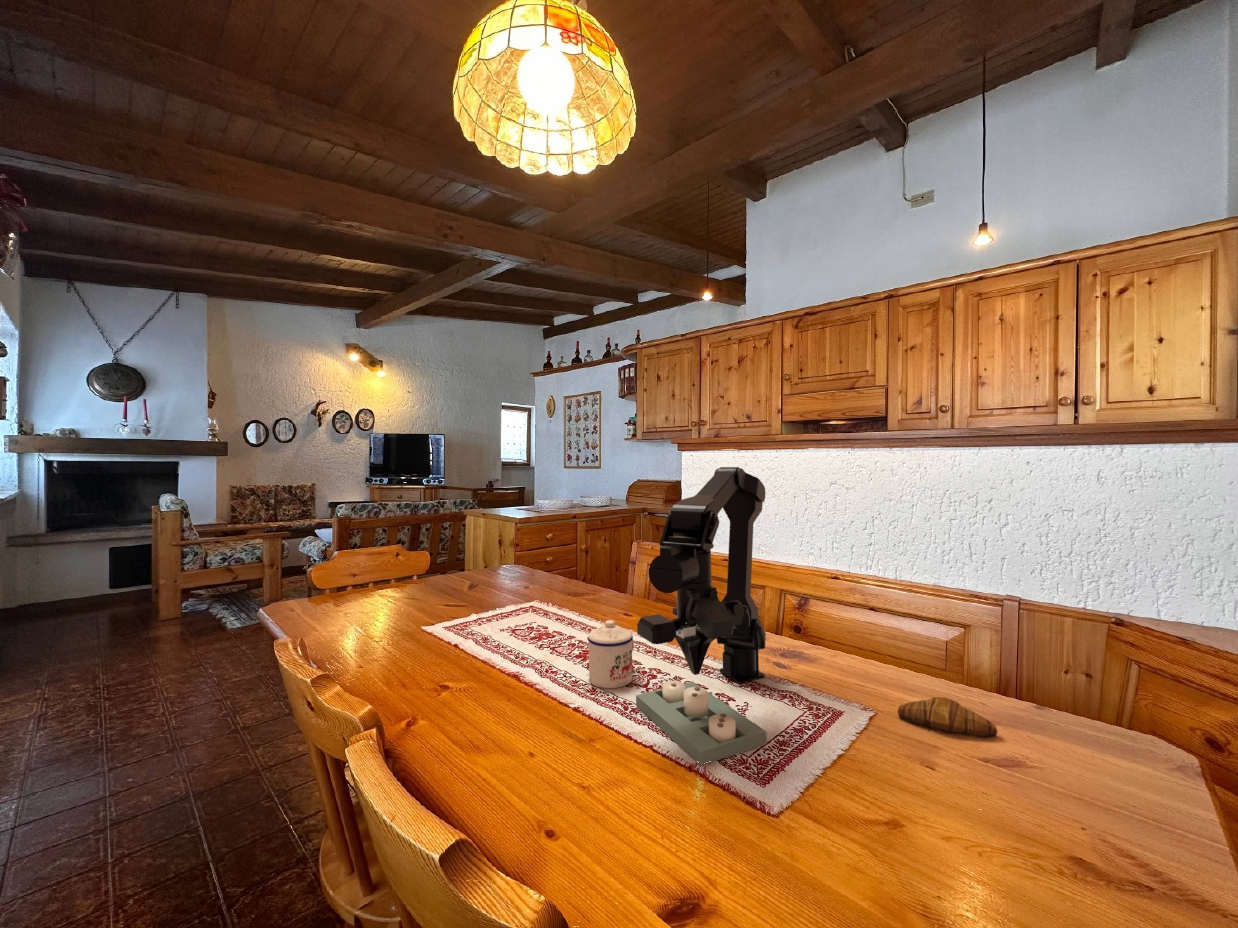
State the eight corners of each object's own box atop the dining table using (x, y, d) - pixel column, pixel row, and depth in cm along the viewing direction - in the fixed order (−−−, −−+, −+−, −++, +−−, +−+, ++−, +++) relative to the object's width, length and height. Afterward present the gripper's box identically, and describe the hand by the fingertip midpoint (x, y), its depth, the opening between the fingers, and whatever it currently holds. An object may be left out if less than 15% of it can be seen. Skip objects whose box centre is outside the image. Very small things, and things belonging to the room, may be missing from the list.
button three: (724, 732, 81) (724, 710, 81) (741, 744, 78) (740, 722, 78) (703, 738, 80) (703, 716, 79) (719, 751, 76) (719, 728, 76)
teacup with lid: (615, 693, 96) (614, 631, 96) (578, 682, 102) (577, 623, 102) (650, 672, 106) (649, 615, 106) (615, 662, 111) (614, 608, 111)
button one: (677, 696, 94) (677, 677, 94) (689, 705, 90) (689, 686, 90) (658, 701, 92) (658, 682, 92) (670, 710, 89) (669, 691, 89)
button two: (699, 703, 88) (699, 684, 88) (713, 714, 84) (713, 693, 84) (679, 709, 86) (679, 688, 86) (692, 719, 82) (692, 698, 82)
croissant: (994, 728, 82) (994, 697, 82) (1000, 749, 76) (999, 716, 76) (898, 709, 89) (898, 680, 89) (896, 727, 83) (896, 696, 83)
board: (693, 692, 96) (692, 681, 96) (766, 744, 78) (766, 731, 78) (636, 706, 91) (636, 694, 91) (700, 765, 73) (700, 751, 73)
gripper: (670, 598, 74) (672, 707, 74) (771, 582, 82) (773, 680, 82) (634, 582, 84) (636, 678, 84) (728, 569, 92) (729, 657, 92)
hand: (695, 673), depth 85 cm, fingers closed
